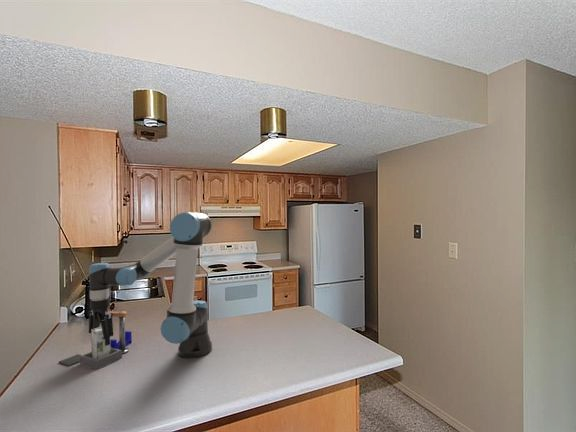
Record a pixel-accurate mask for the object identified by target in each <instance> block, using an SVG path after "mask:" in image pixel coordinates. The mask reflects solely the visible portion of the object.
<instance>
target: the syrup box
mask: <svg viewBox="0 0 576 432" xmlns="http://www.w3.org/2000/svg"><path fill="white" fill-rule="evenodd" d="M90 335H91V352H92V358H93V359H100V358H102V357H105V356H107V355H109V354H111V345H110V351H109V352H107V353H105V354H103V341H102V338H104V336H103V332H102V327H101V326H99V327H98V328H94V329H91V333H90Z"/></svg>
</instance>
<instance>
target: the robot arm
mask: <svg viewBox="0 0 576 432" xmlns="http://www.w3.org/2000/svg"><path fill="white" fill-rule="evenodd" d="M212 226H213V225H212V220H211V218H210V217H209V216H208V215H207V214H206V213H204V212H199V211H197V212H196V211H194V212H193V211H184V212H180V213H177V214H176V215H174V217H173V218H172V220H171V221H170V225H169V232H170V234H171V237H170V238H168V239H167V240H166V241H164V242H162V243H161V244H160V245H159V246H157V247H156V248H154V249H153V250H152V251H151V252H149V253H148V254H146V255H145V256H144V257H142V258H141V259H140V260H138V261H137V262H136V263H135V262H134V264H131V265H126V266H122V267H110V264H109V263H107V262H98V263H92V264H90V265H89V269H88V270H89V272H88V276H89V278H88V279H89V308H90V310H89V311H88V333H89V334H91V330H92V329H94V328H98V327H102V332H103V336H104V338H102V341H103V354H105V353H107V352H109V351H110V339H111V337H113V336H114V327H113V326H114V325H113V317H114V316H113V314H112V313H108V311H109V310H108V308H109V307H110V306H111V298H110V295H111V294H110V291H111V290H110V286H122V287H125V286H131V285H133V284H134V283H135V282H136V281H139V280H143V279H146V277H149V276H150V275H151V273H152V272H153V271H154V270H156V269H157V268H158V267H160V266H161V265H163V264H164V263H165V262H167V261H169V260H170V259H171V258H172V257H174V256H175V265H174V275H173V283H172V286H173V287H172V295H171V304H170V305H169V306H168V307H167V308H166V317H165V319H164V320H163V321H162V322H161V325H160V334H161V336H162V337H163V338H164V339H165V341H167V342H168V343H170V344H175V345H177V344H179V346H178V348H177V351H178V356H179V357H181V358H187V359H190V358H191V359H192V358H198V357H199V358H200V357H203V356H205V355H208V354H210V352H212V350H213V344H212V340H211V338H210V335H209V328H208V325H209V324H208V321H209V320H208V314H209V313H208V310H209V309H208V308H209V307H208V304H207V303H208V302H207V301H205V300H194V296H195V286H196V285H195V284H196V277H197V276H196V275H197V264H198V263H197V262H198V255H199V254H198V253H199V249H200V248H201V247H202V245H203V240H204V238H205V237H207V236H208V235H209V233H211V230H212Z"/></svg>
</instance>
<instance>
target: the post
mask: <svg viewBox="0 0 576 432" xmlns="http://www.w3.org/2000/svg"><path fill="white" fill-rule="evenodd" d="M125 318H126V316H124V317H118V333H119V337H118V339H119V340H118V342H119V343H120V349H119V350H122V355H124V354H127V353H128V352H129V350H130V349H129V348H128V347H125V331H126V322H125V321H126V319H125Z"/></svg>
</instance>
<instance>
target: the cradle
mask: <svg viewBox="0 0 576 432" xmlns="http://www.w3.org/2000/svg"><path fill="white" fill-rule="evenodd" d="M81 355H82V356H80V362H79V365H82V366H84V367H87V368H91V369H93V370H99V369H101V368H103V367H105V366H107V365H110V364H113V363H114V362H117V361H119V360H121V359H122V358H123V354H122V350H119V349H115V348H112V347H111V354H109V355H107V356H105V357H102V358H100V359H93V358H92V351H90V352H87V353H85V354H81Z"/></svg>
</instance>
